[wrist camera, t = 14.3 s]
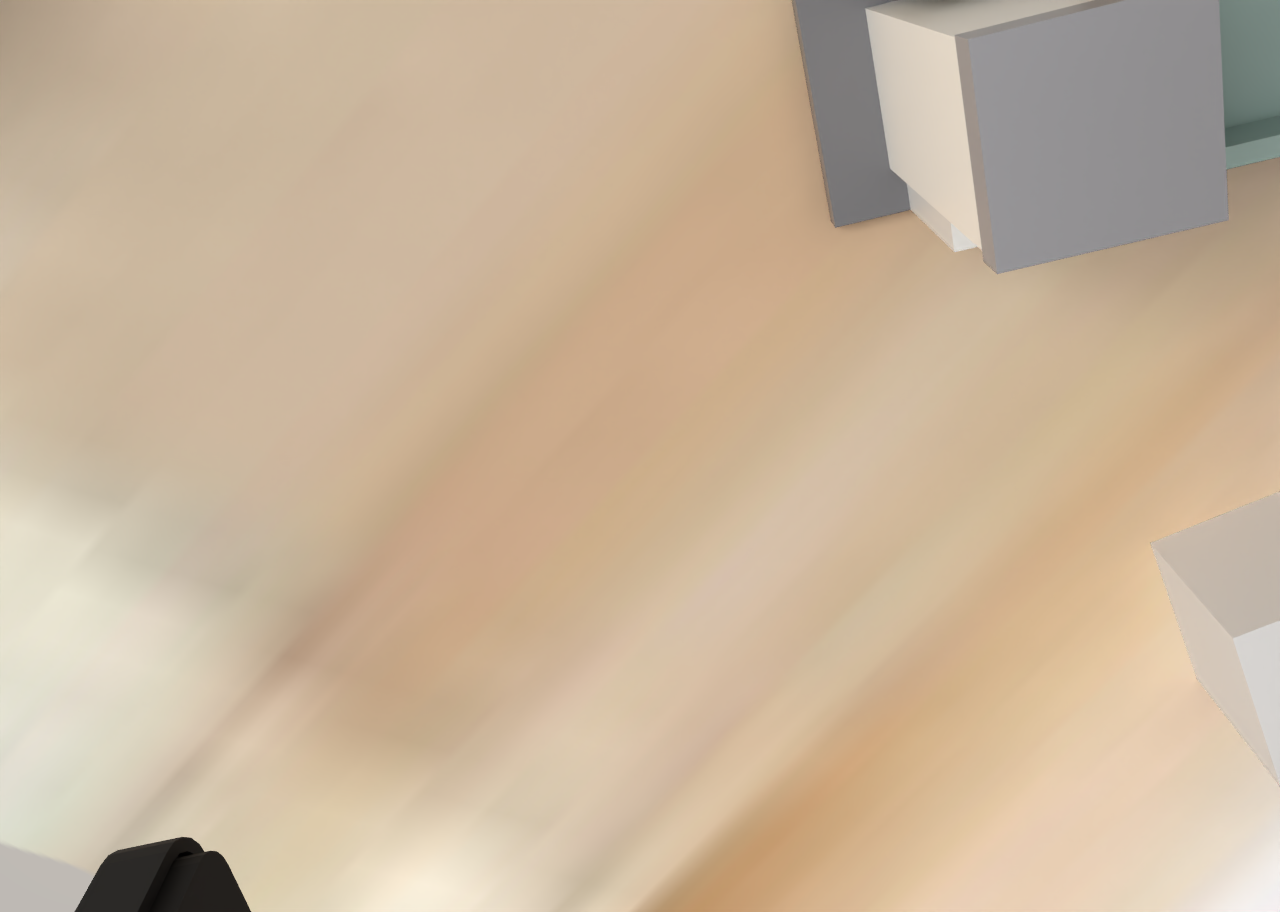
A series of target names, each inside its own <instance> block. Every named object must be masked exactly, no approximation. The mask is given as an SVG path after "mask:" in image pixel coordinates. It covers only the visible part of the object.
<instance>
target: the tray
mask: <svg viewBox="0 0 1280 912" xmlns="http://www.w3.org/2000/svg"><path fill="white" fill-rule="evenodd" d="M1219 12H1220V34H1221V57H1222V80H1223V102H1224V125H1225V148H1226V169H1231V168H1235V167H1239V166H1243V165H1247V164H1252V163H1256V162H1260V161H1264V160H1269V159H1273V158H1277V157H1280V0H1219Z"/></svg>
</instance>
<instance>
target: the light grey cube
mask: <svg viewBox="0 0 1280 912" xmlns="http://www.w3.org/2000/svg"><path fill="white" fill-rule="evenodd" d="M1150 544H1151V547H1152V550H1153V553H1154V556H1155V559H1156V561H1157V564H1158V567H1159V570H1160V573H1161V576H1162V579H1163V582H1164V585H1165V588H1166V591H1167V594H1168V596H1169V599H1170V602H1171V605H1172V608H1173V611H1174V614H1175V617H1176V620H1177V623H1178V626H1179V628H1180V631H1181V634H1182V637H1183V640H1184V643H1185V646H1186V649H1187V652H1188V655H1189V658H1190V661H1191V663H1192V666H1193V669H1194V672H1195V675H1196V678H1197V680H1198V681H1199V682H1200V684H1201V685H1202V686H1203V688H1204V689H1205V690H1206V691H1207V693H1208V694H1209V695H1210V697H1211V698H1212V699H1213V701H1214V702H1215V703H1216V704H1217V706H1218V707H1219V708H1220V710H1221V711H1222V712H1223V714H1224V715H1225V716H1226V717H1227V719H1228V720H1229V721H1230V723H1231V724H1232V725H1233V727H1234V728H1235V729H1236V730H1237V732H1238V733H1239V734H1240V736H1241V737H1242V738H1243V739H1244V741H1245V742H1246V743H1247V745H1248V746H1249V747H1250V749H1251V750H1252V751H1253V752H1254V754H1255V755H1256V756H1257V758H1258V759H1259V760H1260V762H1261V763H1262V764H1263V765H1264V767H1265V768H1266V769H1267V771H1268V772H1269V773H1270V775H1271V776H1272V777H1273V778H1274V780H1275V781H1276V782H1277V784H1278V785H1279V786H1280V492H1277V493H1275V494H1272V495H1270V496H1267V497H1264V498H1262V499H1259V500H1257V501H1254V502H1252V503H1249V504H1247V505H1244V506H1242V507H1239V508H1237V509H1234V510H1232V511H1229V512H1227V513H1224V514H1222V515H1219V516H1217V517H1214V518H1212V519H1209V520H1207V521H1204V522H1202V523H1199V524H1197V525H1194V526H1192V527H1189V528H1187V529H1184V530H1182V531H1179V532H1177V533H1174V534H1172V535H1169V536H1167V537H1164V538H1162V539H1159V540H1157V541H1154V542H1152V543H1150Z"/></svg>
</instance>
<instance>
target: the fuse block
mask: <svg viewBox="0 0 1280 912" xmlns="http://www.w3.org/2000/svg"><path fill="white" fill-rule="evenodd" d="M792 5H793V10H794V16H795V21H796V27H797V33H798V38H799V44H800V50H801V55H802V61H803V66H804V72H805V78H806V83H807V89H808V95H809V100H810V106H811V111H812V117H813V123H814V128H815V134H816V140H817V145H818V151H819V156H820V162H821V168H822V173H823V179H824V185H825V190H826V196H827V201H828V207H829V213H830V218H831V222H832V223H833V225H834V226H835V228H836V227H840V226H844V225H848V224H853V223H857V222H861V221H865V220H869V219H874V218H878V217H882V216H886V215H890V214H895V213H899V212H903V211H907V210H912V211H913V212H914V213H915V214H916V215H917V216H918V217H919V218H920V219H921V220H922V221H923V222H924V223H925V224H926V225H927V226H928V227H929V228H930V229H931V230H932V231H933V232H934V233H935V234H936V235H937V236H938V237H939V238H940V239H941V240H942V241H943V242H944V243H946V244H947V245H948V246H949V247H950V248H951V249H952V250H953V251H954V252H957V251H962V250H966V249H970V248H974V247H978V248H980V249H981V250H982V253H983V261H984V262H985V263H986V264H987V265H988V266H989V267H990V268H991V269H992V270H993V271H994V272H996V273H997V274H999V273H1004V272H1008V271H1012V270H1017V269H1021V268H1025V267H1029V266H1034V265H1038V264H1042V263H1047V262H1051V261H1055V260H1060V259H1064V258H1068V257H1072V256H1077V255H1081V254H1085V253H1090V252H1094V251H1098V250H1102V249H1107V248H1111V247H1115V246H1120V245H1124V244H1128V243H1133V242H1137V241H1141V240H1145V239H1150V238H1154V237H1158V236H1163V235H1167V234H1171V233H1176V232H1180V231H1184V230H1188V229H1193V228H1197V227H1201V226H1206V225H1210V224H1214V223H1219V222H1223V221H1227V220H1229V216H1228V193H1227V170H1226V148H1225V125H1224V102H1223V80H1222V57H1221V34H1220V12H1219V0H792Z"/></svg>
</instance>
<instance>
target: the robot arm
mask: <svg viewBox="0 0 1280 912" xmlns="http://www.w3.org/2000/svg"><path fill="white" fill-rule="evenodd" d="M75 912H251V911H250V909H249V907H248V904H247V902H246V900H245V898H244V896H243V894H242V892H241V890H240V888H239V886H238V884H237V882H236V880H235V878H234V876H233V874H232V872H231V869H230V867H229V865H228V864H227V862H226V860H225V859H224V857H223V856H222V855H221V854H219V853H218V852H217V851H207V852H204V850H203V849H202V847H201V846H200V844H199V843H197V842H196V841H195V840H193V839H192V838H187V837H180V838H175V839H170V840H165V841H161V842H156V843H151V844H146V845H141V846H136V847H131V848H127V849H122V850H117V851H116V852H114V853H112V854H110V855H108V857H107V858H106V859H105V860H104V862H103V863H102V864H101V866H100V867H99V869H98V871H97V873H96V875H95V876H94V878H93V880H92V882H91V884H90V885H89V887H88V889H87V891H86V893H85V894H84V896H83V898H82V900H81V901H80V904H79V905H78V907H77V909H76V910H75Z"/></svg>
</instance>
